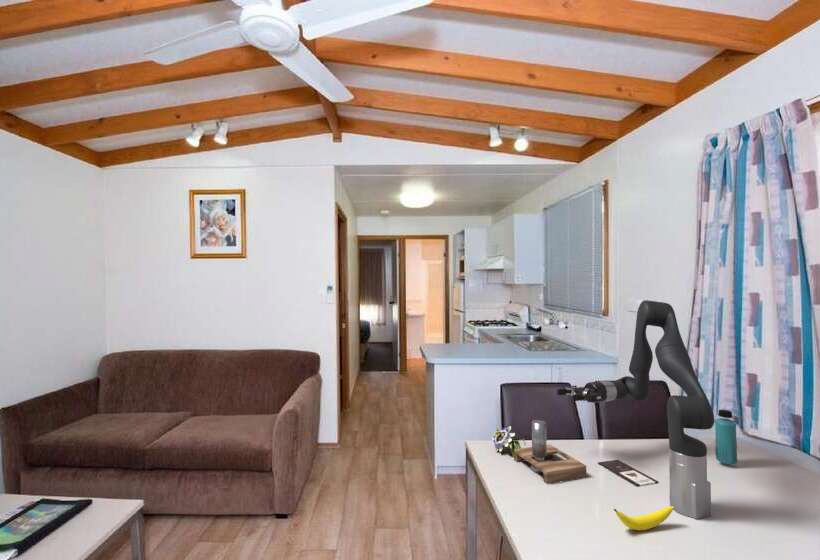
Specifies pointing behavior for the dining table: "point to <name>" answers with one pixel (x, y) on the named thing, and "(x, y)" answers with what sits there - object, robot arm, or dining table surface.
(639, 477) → the chocolate bar
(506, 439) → the passion flower
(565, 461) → the keyhole plate
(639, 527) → the banana
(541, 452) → the keyhole post
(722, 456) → the beverage bottle
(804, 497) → the dining table surface
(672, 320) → the robot arm
